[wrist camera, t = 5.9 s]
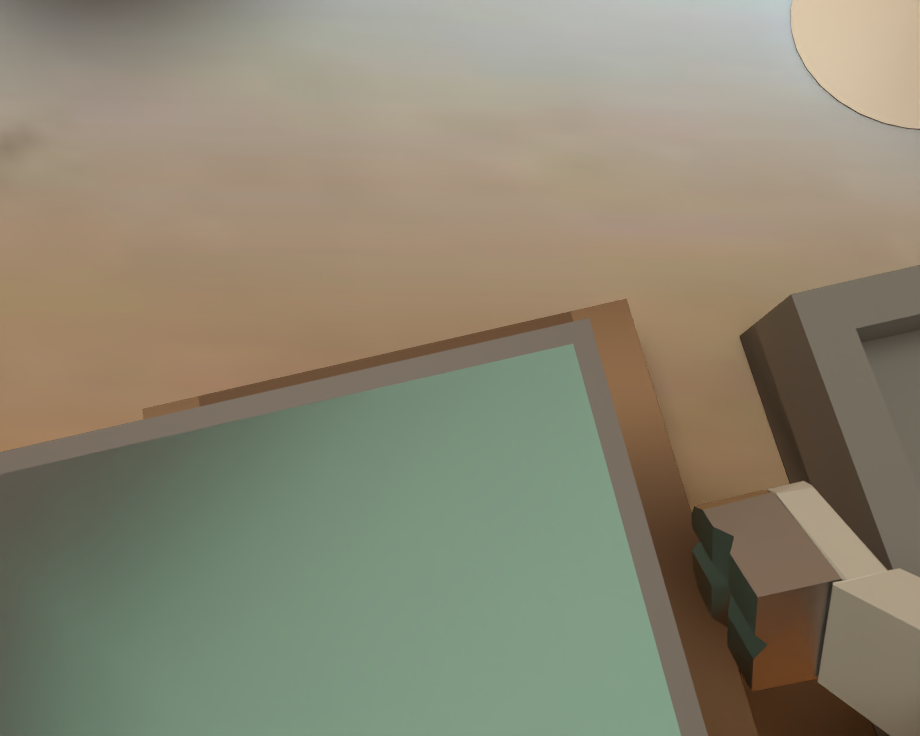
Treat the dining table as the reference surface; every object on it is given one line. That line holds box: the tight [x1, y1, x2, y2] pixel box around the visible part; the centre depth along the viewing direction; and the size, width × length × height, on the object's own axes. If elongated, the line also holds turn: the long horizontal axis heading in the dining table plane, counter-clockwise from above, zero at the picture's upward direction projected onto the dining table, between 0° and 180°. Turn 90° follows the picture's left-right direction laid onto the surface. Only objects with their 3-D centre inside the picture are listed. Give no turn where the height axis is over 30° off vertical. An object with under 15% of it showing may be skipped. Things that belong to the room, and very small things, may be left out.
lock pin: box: [0, 318, 708, 736], centre depth 10 cm, size 5×5×12 cm
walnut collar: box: [143, 299, 758, 736], centre depth 14 cm, size 10×10×3 cm
